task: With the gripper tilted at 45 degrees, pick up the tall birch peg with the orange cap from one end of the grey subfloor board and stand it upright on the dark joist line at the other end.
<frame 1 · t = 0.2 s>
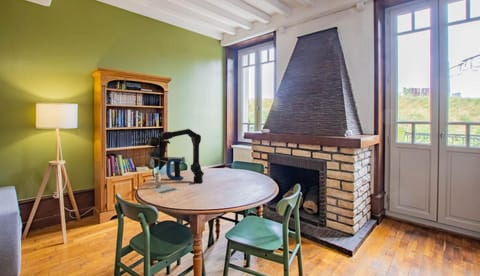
hand: (157, 169, 193), 15 cm above the table, tool tilted 15°, fingers open, 9 cm apart
birch peg: (158, 187, 193), point 1 cm above the table, touching subfloor board
joist line: (168, 192, 185), resting on subfloor board
handheld scanner: (176, 179, 224), on the table
subfloor board: (163, 191, 190), on the table
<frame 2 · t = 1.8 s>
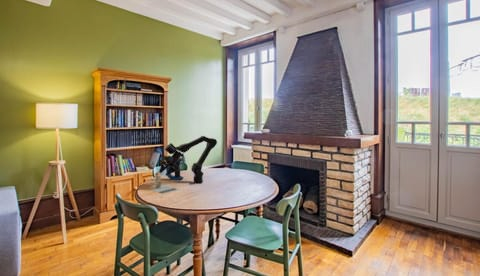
hand: (162, 174, 195), 11 cm above the table, tool tilted 45°, fingers open, 9 cm apart
nothing on the table moved.
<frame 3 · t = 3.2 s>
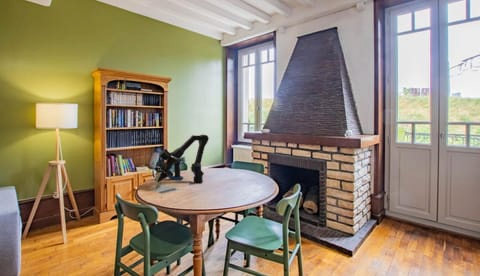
hand: (156, 181, 192), 7 cm above the table, tool tilted 45°, fingers closed on birch peg, 4 cm apart
birch peg: (158, 187, 193), point 2 cm above the table, touching gripper, subfloor board
everything else where it was.
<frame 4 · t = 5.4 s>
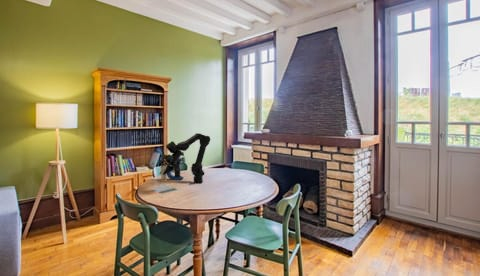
hand: (162, 174, 186), 13 cm above the table, tool tilted 45°, fingers closed on birch peg, 4 cm apart
birch peg: (163, 180, 188), point 8 cm above the table, touching gripper
everything else where it was.
when the fingers open (8 cm above the table, at t = 7.3 s): birch peg stays where it is, resting on joist line.
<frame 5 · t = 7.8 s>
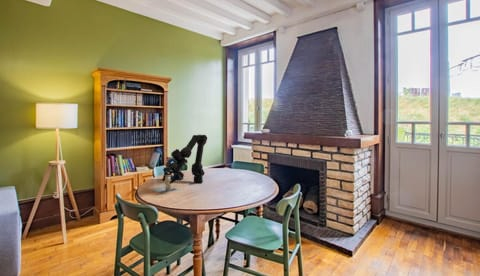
hand: (166, 182, 184), 8 cm above the table, tool tilted 45°, fingers open, 9 cm apart
birch peg: (168, 190, 185), point 2 cm above the table, touching joist line
everything else where it was.
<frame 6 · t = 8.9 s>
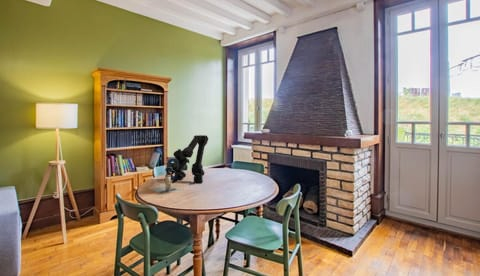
hand: (168, 182, 185), 8 cm above the table, tool tilted 45°, fingers open, 9 cm apart
nothing on the table moved.
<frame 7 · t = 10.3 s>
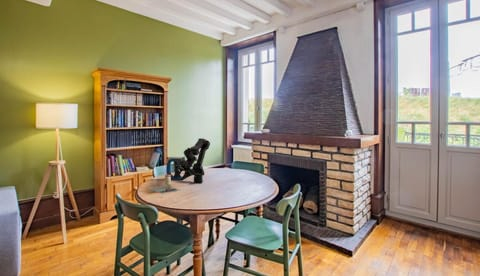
hand: (177, 179, 191), 8 cm above the table, tool tilted 45°, fingers open, 9 cm apart
nothing on the table moved.
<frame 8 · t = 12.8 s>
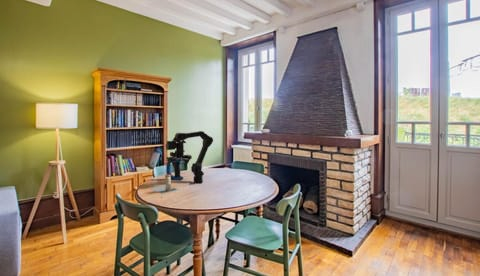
hand: (180, 169, 204), 13 cm above the table, tool pointing down, fingers open, 9 cm apart
nothing on the table moved.
at the end: birch peg 0.0 cm from the joist line (horizontally); birch peg tilted 0°; birch peg point 1.7 cm above the table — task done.
